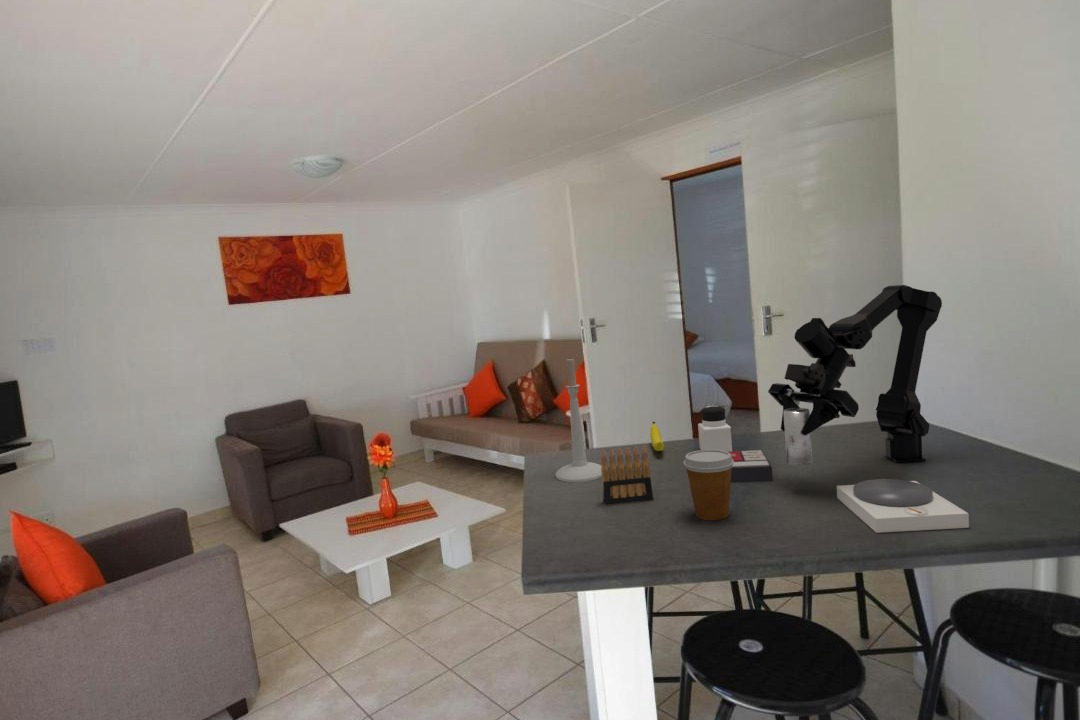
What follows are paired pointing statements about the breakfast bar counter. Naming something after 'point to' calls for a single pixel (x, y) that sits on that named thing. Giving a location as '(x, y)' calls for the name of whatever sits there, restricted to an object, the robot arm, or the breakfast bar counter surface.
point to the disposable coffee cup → (710, 482)
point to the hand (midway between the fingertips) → (792, 432)
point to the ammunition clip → (626, 478)
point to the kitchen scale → (901, 506)
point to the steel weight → (797, 437)
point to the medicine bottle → (714, 430)
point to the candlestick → (577, 440)
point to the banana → (656, 438)
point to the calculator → (750, 467)
